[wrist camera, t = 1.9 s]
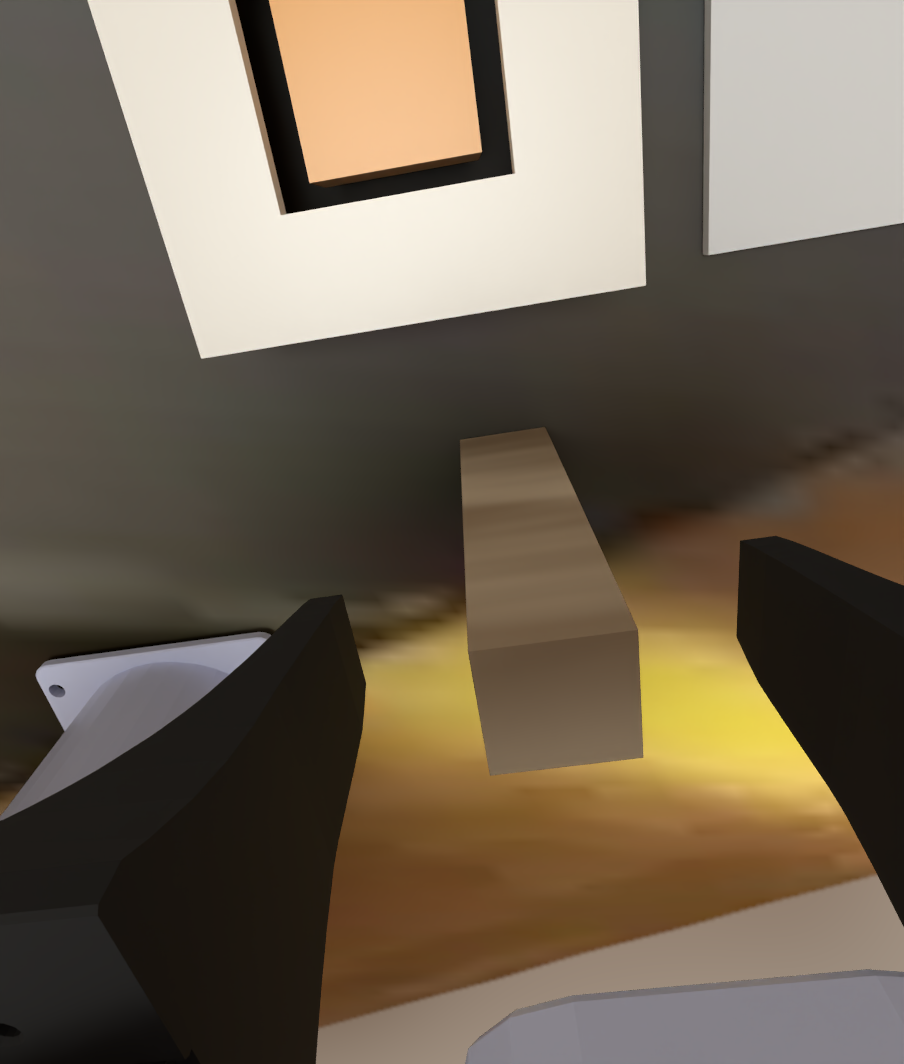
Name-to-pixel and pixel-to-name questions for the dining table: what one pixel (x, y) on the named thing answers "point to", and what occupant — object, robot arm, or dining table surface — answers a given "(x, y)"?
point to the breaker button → (378, 86)
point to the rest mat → (801, 120)
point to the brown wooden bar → (543, 614)
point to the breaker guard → (393, 221)
